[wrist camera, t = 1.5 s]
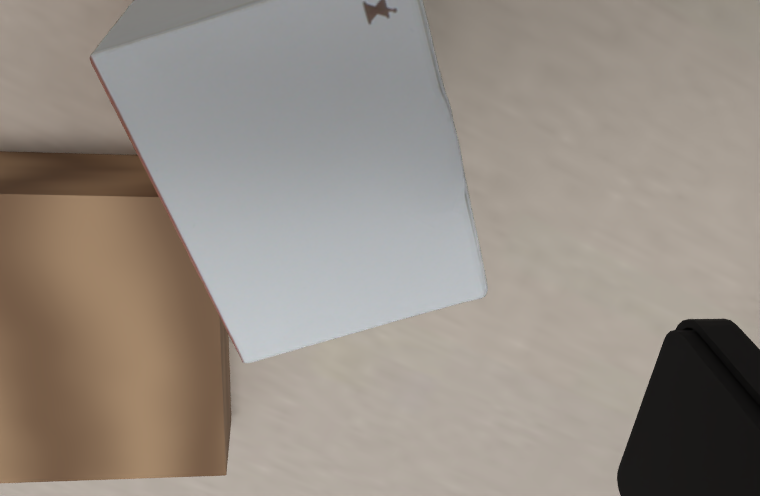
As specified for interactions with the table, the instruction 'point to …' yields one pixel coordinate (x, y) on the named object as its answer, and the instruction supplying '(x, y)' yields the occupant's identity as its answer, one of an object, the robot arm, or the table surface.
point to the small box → (299, 160)
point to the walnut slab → (103, 329)
